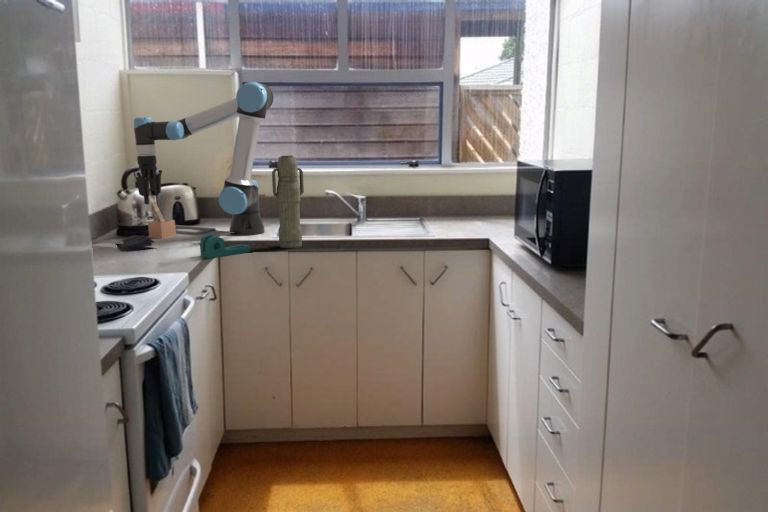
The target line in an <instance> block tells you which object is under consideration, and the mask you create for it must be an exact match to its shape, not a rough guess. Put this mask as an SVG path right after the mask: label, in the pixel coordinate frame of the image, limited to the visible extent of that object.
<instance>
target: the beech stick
mask: <svg viewBox="0 0 768 512" xmlns="http://www.w3.org/2000/svg"><path fill="white" fill-rule="evenodd" d="M149 196H151V204H152V212H151V213H152V214H153V215H154V218H155V220H157V222H165V220H164V216H163V215H162V212H161V211H160V208H159V206H158V204H156V202H155V200H154V198H153V196H152V194H151V191H149Z"/></svg>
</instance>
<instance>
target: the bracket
mask: <svg viewBox="0 0 768 512" xmlns="http://www.w3.org/2000/svg"><path fill="white" fill-rule="evenodd" d="M199 247H200V248H199V250H200V257H202V258H205V259H208V260H212V259H217V258H224V257H229V256H235V255H243V254H248V253H251V247H250V245H249V244H238V245H230V246H226V242H225V240H224V239H223V238H222V237H220V236H216V235H212V234H205V235H204V236H202V238H201V239H200V241H199Z"/></svg>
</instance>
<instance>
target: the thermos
mask: <svg viewBox="0 0 768 512" xmlns="http://www.w3.org/2000/svg"><path fill="white" fill-rule="evenodd" d="M276 165H277V166H276V168H274V169H272V172H271V183H272V184H271V185H272V194H273V197H276V200H277V204H278V216H279V218H278V219H279V227H278V241H279V247H280V248H281V249H297V248H301V247H303V243H302V241H303V229H302V227H301V215H300V214H301V213H300V203H301V196H302V195H303V194H304V188H305V187H304V172H303V170H302V169H301V168H300V167H298V162H297V159H296V156H294V155H281V156H280V157H278V160H277V163H276ZM276 172H277V180H276ZM298 172H299V176H298ZM298 177H299V179H298ZM276 181H277V185H276Z"/></svg>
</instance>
